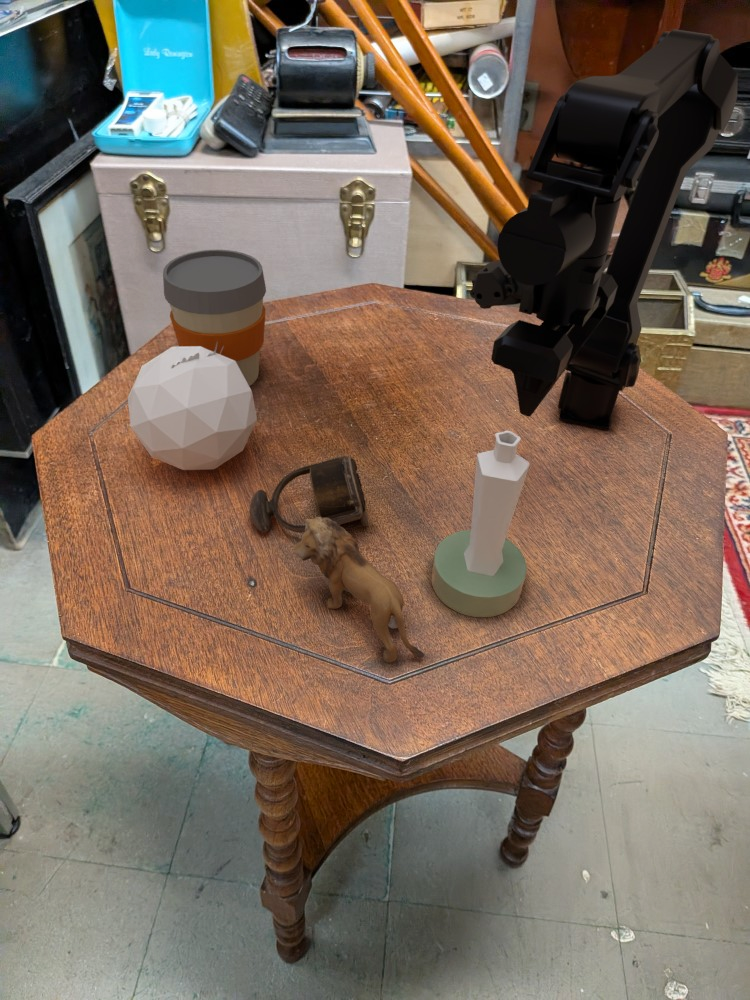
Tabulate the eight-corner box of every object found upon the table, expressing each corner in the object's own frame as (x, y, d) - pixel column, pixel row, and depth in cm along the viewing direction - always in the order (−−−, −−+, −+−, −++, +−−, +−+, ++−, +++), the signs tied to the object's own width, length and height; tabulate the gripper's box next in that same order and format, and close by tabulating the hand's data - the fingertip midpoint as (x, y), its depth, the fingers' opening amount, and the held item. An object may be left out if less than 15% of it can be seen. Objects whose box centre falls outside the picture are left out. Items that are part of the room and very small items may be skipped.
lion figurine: (288, 593, 70) (283, 527, 64) (325, 563, 73) (324, 497, 67) (406, 678, 64) (413, 613, 58) (441, 641, 67) (452, 576, 61)
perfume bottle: (471, 537, 73) (493, 415, 63) (511, 555, 71) (540, 432, 61) (450, 565, 70) (469, 441, 60) (491, 584, 68) (518, 460, 58)
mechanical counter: (363, 524, 70) (385, 447, 76) (236, 494, 71) (268, 419, 77) (358, 561, 76) (379, 487, 82) (241, 533, 77) (270, 461, 82)
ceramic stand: (527, 561, 75) (532, 541, 73) (513, 627, 68) (519, 607, 66) (442, 541, 76) (445, 520, 74) (421, 603, 70) (424, 583, 68)
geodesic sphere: (204, 353, 91) (140, 297, 78) (299, 386, 86) (249, 332, 73) (152, 461, 89) (77, 421, 76) (247, 500, 85) (185, 466, 71)
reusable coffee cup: (163, 367, 100) (143, 262, 90) (243, 342, 105) (234, 241, 95) (204, 411, 92) (188, 302, 82) (289, 381, 98) (283, 276, 88)
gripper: (528, 196, 73) (503, 334, 84) (448, 259, 61) (431, 412, 71) (637, 220, 69) (597, 362, 80) (575, 294, 57) (538, 449, 68)
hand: (541, 393), depth 75 cm, fingers open, 9 cm apart
